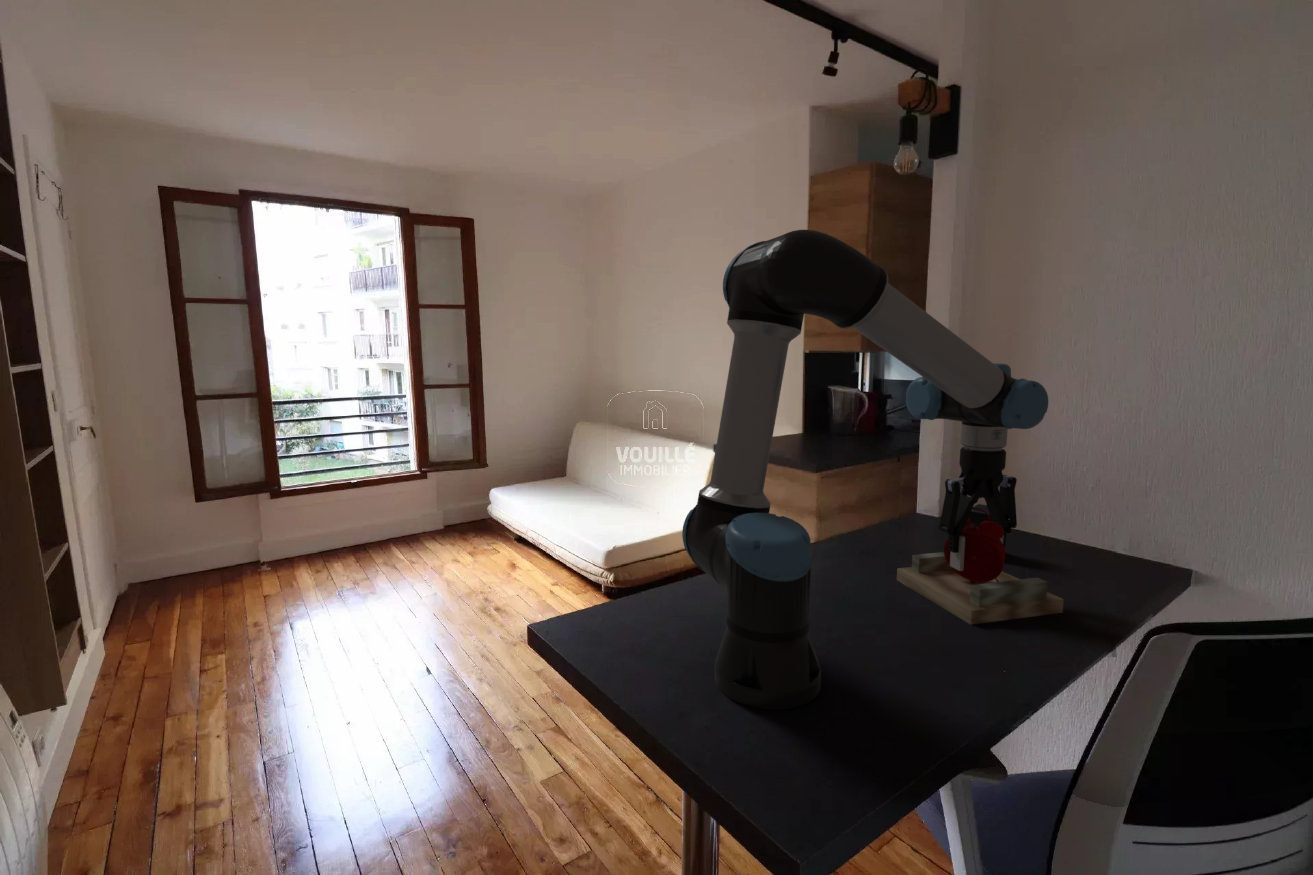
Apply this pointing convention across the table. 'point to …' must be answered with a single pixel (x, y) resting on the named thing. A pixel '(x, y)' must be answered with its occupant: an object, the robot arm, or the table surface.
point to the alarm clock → (981, 551)
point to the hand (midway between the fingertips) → (975, 566)
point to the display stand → (978, 592)
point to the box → (979, 515)
